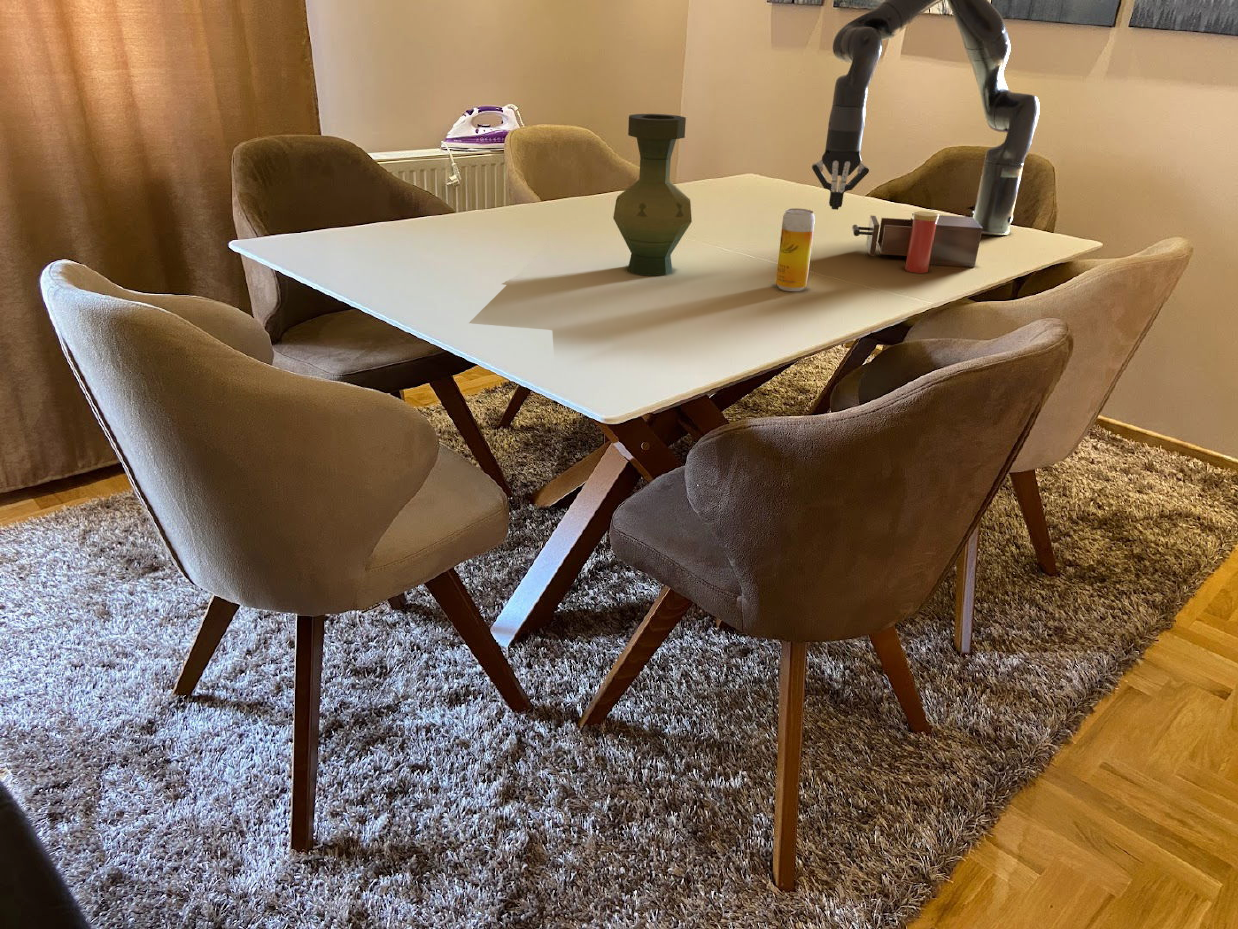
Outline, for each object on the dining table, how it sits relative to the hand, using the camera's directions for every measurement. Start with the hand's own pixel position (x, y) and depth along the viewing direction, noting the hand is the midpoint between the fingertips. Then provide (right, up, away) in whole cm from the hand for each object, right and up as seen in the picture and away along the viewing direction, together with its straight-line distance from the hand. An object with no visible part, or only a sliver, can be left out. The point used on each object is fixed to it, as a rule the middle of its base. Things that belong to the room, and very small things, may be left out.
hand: (834, 208), depth 208 cm
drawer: (+12, -9, +2) cm, 16 cm away
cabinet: (+24, -11, +1) cm, 26 cm away
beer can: (-14, -23, -25) cm, 36 cm away
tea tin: (+16, -16, -9) cm, 24 cm away
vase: (-42, -17, -16) cm, 48 cm away
